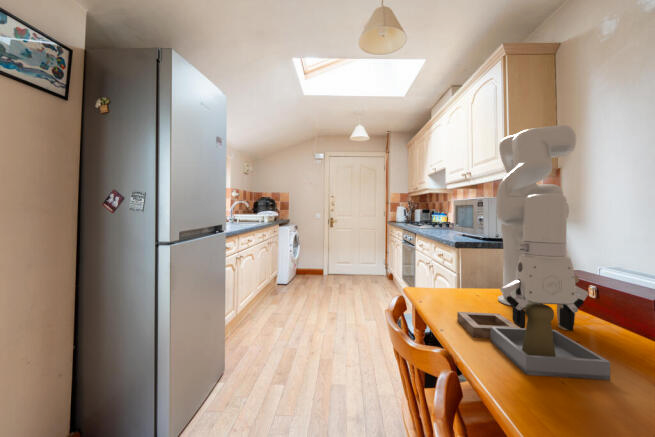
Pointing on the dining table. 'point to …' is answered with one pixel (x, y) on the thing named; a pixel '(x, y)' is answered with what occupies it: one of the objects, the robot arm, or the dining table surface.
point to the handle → (562, 307)
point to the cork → (539, 330)
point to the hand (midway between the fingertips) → (542, 327)
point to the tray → (567, 362)
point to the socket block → (483, 331)
